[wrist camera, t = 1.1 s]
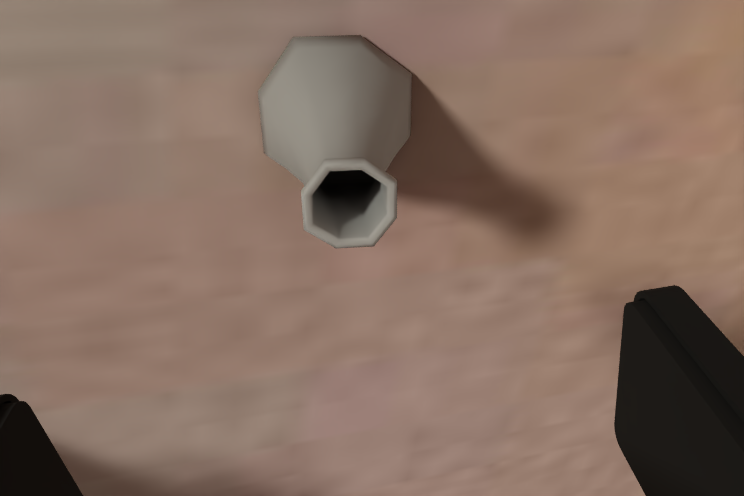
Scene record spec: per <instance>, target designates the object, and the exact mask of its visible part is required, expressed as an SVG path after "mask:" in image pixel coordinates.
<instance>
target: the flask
mask: <svg viewBox="0 0 744 496" xmlns="http://www.w3.org/2000/svg"><path fill="white" fill-rule="evenodd" d="M411 92H412V73H410V72H409V71H407V70H406V69H405V68H403V67H402V66H401V65H399V64H398V63H397V62H395V61H394V60H393V59H391V58H390V57H389V56H387V55H386V54H385V53H383V52H382V51H381V50H379V49H378V48H377V47H375V46H374V45H373V44H371V43H370V42H369V41H367V40H366V39H365V38H363V37H362V36H361V35H348V36H310V37H293V38H292V40H291V41H290V43H289V44H288V46H287V47H286V49H285V50H284V52H283V53H282V55H281V57H280V58H279V60H278V61H277V63H276V64H275V66H274V67H273V69H272V71H271V72H270V74H269V75H268V77H267V78H266V80H265V81H264V83H263V84H262V86H261V88H260V89H259V91H258V99H259V109H260V119H261V129H262V139H263V149H264V153H265V154H266V155H267V156H268V157H270V158H271V159H273V160H274V161H276V162H277V163H279V164H280V165H282V166H283V167H285V168H286V169H287V170H288V171H289V172H291V173H292V174H293V175H294V176H295V177H297V178H298V179H299V180H300V181H301V182H303V184H304V188H303V189H302V191H301V198H302V212H303V226H304V230H305V231H307V232H309V233H310V234H312V235H314V236H316V237H317V238H319V239H321V240H322V241H324V242H326V243H328V244H329V245H331V246H333V247H334V248H352V247H371V246H374V245H375V244H376V243H377V242H378V241H379V239H380V238H381V237H382V236H383V234H384V233H385V232H386V231H387V229H388V228H389V227H390V226H391V225H392V223H393V222H394V221H395V220H396V218H397V179H395V178H394V177H393V176H391V175H390V174H388V173H387V172H385V171H386V170H387V168H388V167H389V165H390V164H391V162H392V160H393V159H394V157H395V156H396V154H397V153H398V152H399V150H400V149H401V148H402V146H403V145H404V144H405V143H406V141H407V140H408V138H409V137H410V133H411Z"/></svg>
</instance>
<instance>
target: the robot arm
mask: <svg viewBox="0 0 744 496" xmlns="http://www.w3.org/2000/svg"><path fill="white" fill-rule="evenodd" d="M614 424H615V434H616V438H617V441H618V444H619V446H620V448H621V450H622V452H623V454H624V456H625V458H626V460H627V462H628V463H629V465H630V467H631V469H632V471H633V473H634V475H635V476H636V478H637V480H638V482H639V484H640V486H641V488H642V489H643V491H644V493H645V495H646V496H744V356H743V355H742V354H741V353H740V352H739V351H738V350H737V349H736V348H735V346H734V345H733V344H732V343H731V342H730V341H729V340H728V339H727V338H726V337H725V335H724V334H723V333H722V332H721V331H720V330H719V329H718V328H717V327H716V325H715V324H714V323H713V322H712V321H711V320H710V319H709V318H708V317H707V315H706V314H705V313H704V312H703V311H702V310H701V309H700V308H699V307H698V306H697V304H696V303H695V302H694V301H693V300H692V299H691V298H690V297H689V296H688V294H687V293H686V292H685V291H684V290H683V289H682V288H680V287H679V286H675V285H674V286H668V287H662V288H656V289H650V290H643V291H639V292H637V294H636V295H635V298H634V302H629V303H626V305H625V307H624V315H623V327H622V339H621V351H620V363H619V375H618V387H617V399H616V411H615V423H614ZM0 496H83V495H82V493H81V492H80V490H79V488H78V486H77V485H76V483H75V481H74V480H73V478H72V476H71V475H70V473H69V471H68V470H67V468H66V466H65V465H64V463H63V461H62V459H61V458H60V456H59V454H58V453H57V451H56V449H55V448H54V446H53V444H52V443H51V441H50V439H49V438H48V436H47V434H46V433H45V431H44V429H43V427H42V426H41V424H40V422H39V421H38V419H37V417H36V416H35V414H34V412H33V411H32V409H31V407H30V406H29V405H28V404H27V403H26V402H24V401H19V400H18V399H17V398H16V397H15V396H13V395H11V394H3V395H0Z"/></svg>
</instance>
